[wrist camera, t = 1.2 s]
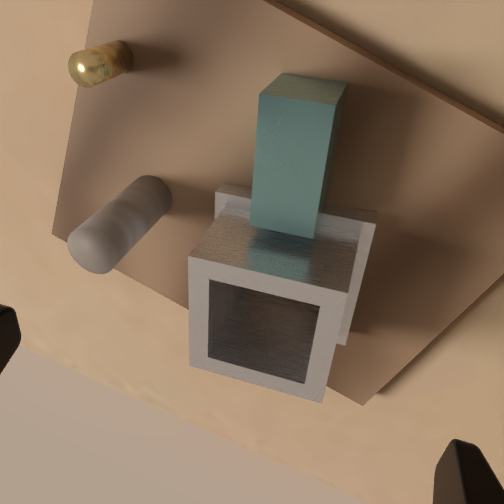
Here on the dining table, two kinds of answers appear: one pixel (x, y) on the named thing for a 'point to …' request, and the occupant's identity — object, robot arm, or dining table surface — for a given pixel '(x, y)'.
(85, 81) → the dowel pin
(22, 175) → the dining table surface
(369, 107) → the post board
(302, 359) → the grey piece
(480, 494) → the robot arm
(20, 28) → the dining table surface
